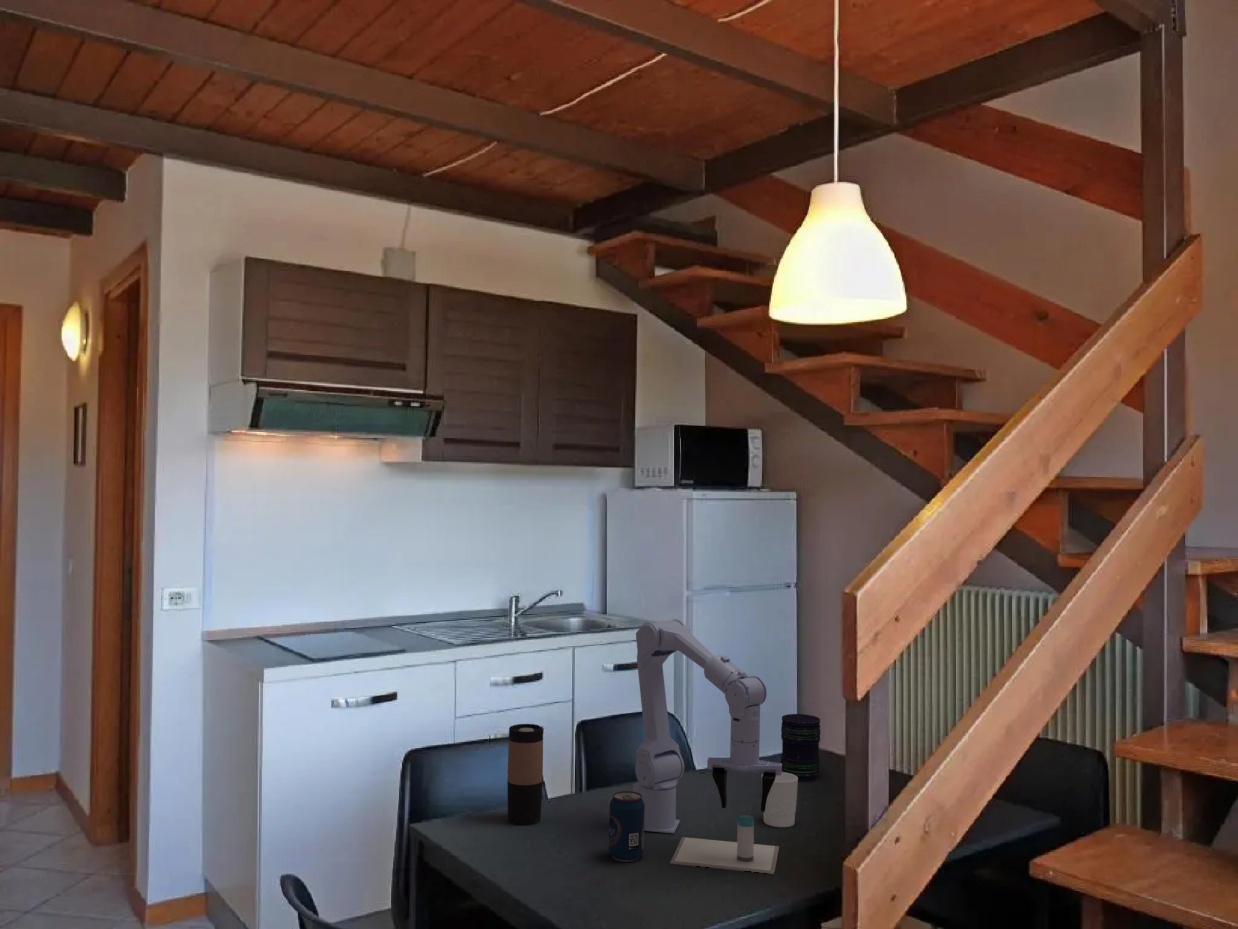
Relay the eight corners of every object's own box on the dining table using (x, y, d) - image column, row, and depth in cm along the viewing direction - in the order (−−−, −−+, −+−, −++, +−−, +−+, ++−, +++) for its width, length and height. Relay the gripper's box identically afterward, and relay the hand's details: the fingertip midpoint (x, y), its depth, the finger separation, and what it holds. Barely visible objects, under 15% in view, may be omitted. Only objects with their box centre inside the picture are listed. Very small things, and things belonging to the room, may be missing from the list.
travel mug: (500, 823, 215) (502, 729, 215) (516, 812, 222) (518, 722, 222) (531, 828, 212) (533, 733, 212) (547, 817, 219) (549, 726, 220)
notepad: (669, 864, 193) (669, 861, 193) (682, 838, 208) (682, 836, 208) (774, 874, 189) (774, 872, 189) (779, 847, 203) (779, 845, 203)
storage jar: (780, 781, 250) (781, 721, 250) (780, 770, 260) (781, 713, 260) (820, 784, 248) (821, 723, 249) (819, 773, 258) (820, 715, 258)
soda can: (603, 852, 198) (604, 792, 199) (635, 848, 201) (636, 788, 201) (616, 865, 192) (618, 802, 192) (649, 860, 195) (650, 798, 195)
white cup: (796, 830, 214) (797, 783, 214) (759, 827, 216) (760, 780, 216) (797, 818, 222) (798, 773, 222) (761, 815, 223) (762, 770, 224)
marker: (736, 861, 194) (736, 819, 194) (737, 855, 197) (738, 814, 198) (753, 862, 193) (753, 821, 194) (754, 856, 197) (754, 815, 197)
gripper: (705, 741, 195) (704, 811, 195) (780, 747, 192) (779, 818, 191) (710, 732, 202) (709, 800, 202) (783, 738, 199) (781, 807, 198)
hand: (743, 808), depth 197 cm, fingers open, 7 cm apart
